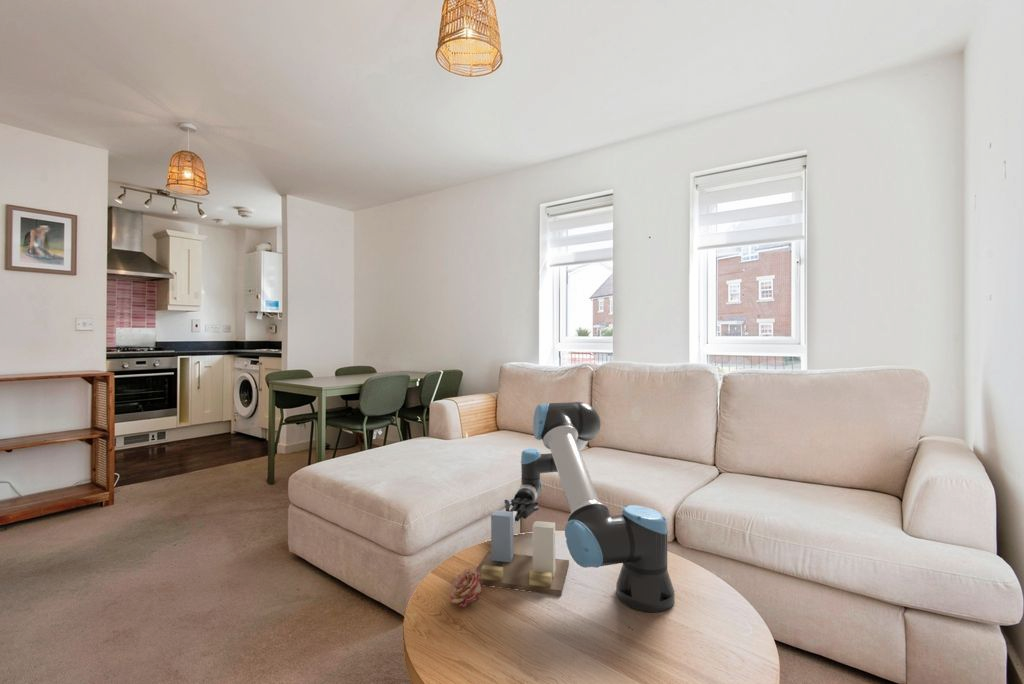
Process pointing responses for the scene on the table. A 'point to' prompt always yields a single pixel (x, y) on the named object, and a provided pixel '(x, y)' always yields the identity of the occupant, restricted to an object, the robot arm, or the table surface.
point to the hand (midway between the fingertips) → (510, 522)
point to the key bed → (522, 575)
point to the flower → (466, 587)
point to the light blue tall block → (502, 536)
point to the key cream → (544, 547)
